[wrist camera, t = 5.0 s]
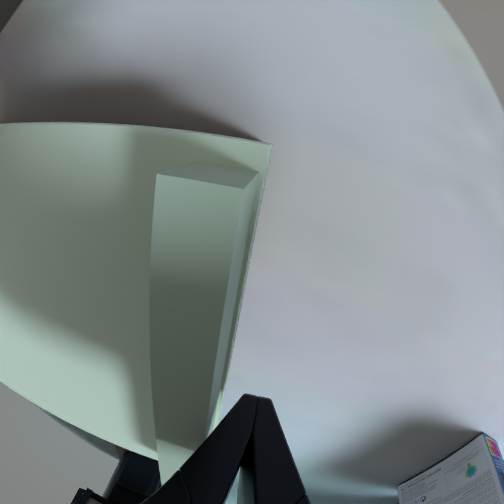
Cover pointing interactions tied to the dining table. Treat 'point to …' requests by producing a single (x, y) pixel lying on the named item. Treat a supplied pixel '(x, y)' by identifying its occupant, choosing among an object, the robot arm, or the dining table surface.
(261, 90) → the dining table surface
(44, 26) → the dining table surface
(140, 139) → the lid
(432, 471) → the ink cartridge box
